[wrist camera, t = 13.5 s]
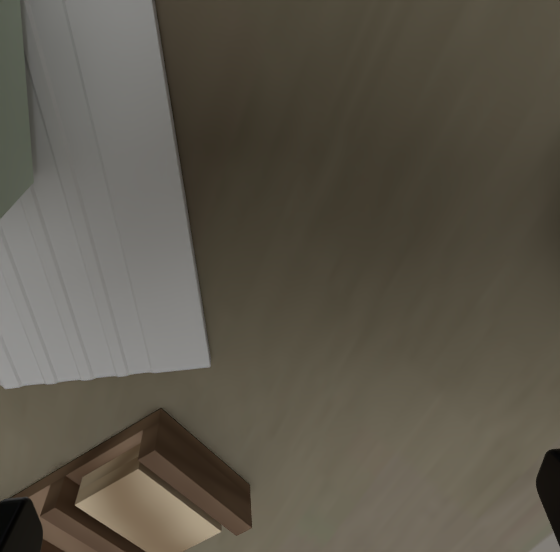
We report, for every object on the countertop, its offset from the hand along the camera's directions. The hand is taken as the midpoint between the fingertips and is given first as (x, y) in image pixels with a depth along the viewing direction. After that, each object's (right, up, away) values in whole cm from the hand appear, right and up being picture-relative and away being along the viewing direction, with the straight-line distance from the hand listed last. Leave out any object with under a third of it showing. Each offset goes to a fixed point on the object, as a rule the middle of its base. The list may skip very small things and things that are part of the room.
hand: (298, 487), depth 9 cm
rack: (-9, -9, +19) cm, 23 cm away
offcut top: (-7, -8, +17) cm, 20 cm away
